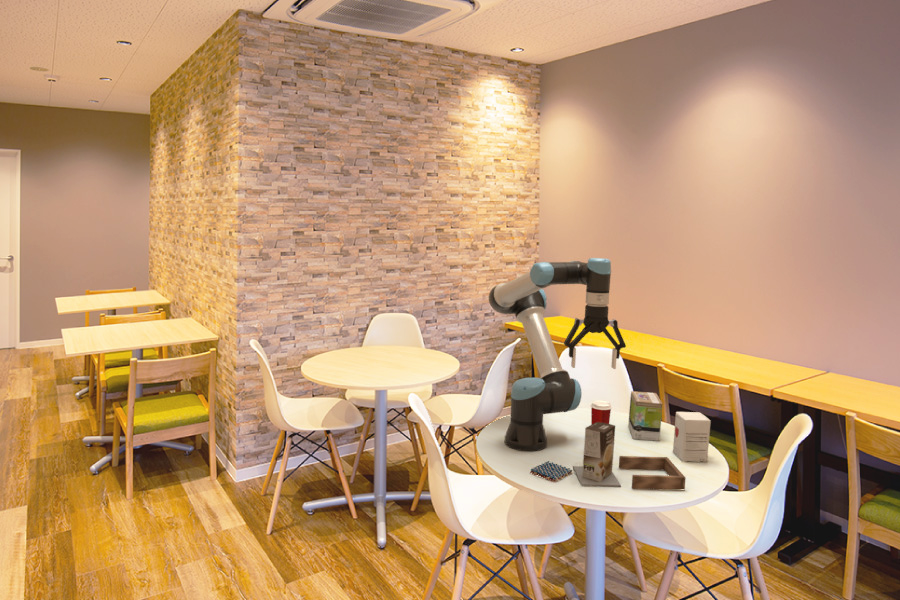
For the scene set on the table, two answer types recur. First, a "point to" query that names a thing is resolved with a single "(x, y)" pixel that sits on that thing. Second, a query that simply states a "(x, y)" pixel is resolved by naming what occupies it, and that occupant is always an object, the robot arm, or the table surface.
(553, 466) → the woven mat
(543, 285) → the robot arm
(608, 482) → the slate mat
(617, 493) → the table surface
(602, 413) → the paper cup
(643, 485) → the frame
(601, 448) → the coffee box
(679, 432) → the supplement box
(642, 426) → the tea box
